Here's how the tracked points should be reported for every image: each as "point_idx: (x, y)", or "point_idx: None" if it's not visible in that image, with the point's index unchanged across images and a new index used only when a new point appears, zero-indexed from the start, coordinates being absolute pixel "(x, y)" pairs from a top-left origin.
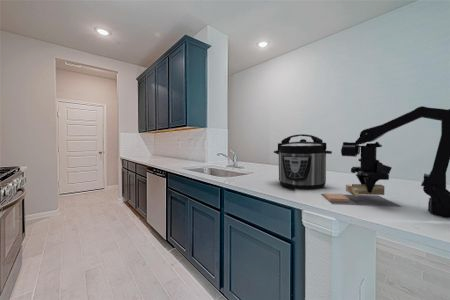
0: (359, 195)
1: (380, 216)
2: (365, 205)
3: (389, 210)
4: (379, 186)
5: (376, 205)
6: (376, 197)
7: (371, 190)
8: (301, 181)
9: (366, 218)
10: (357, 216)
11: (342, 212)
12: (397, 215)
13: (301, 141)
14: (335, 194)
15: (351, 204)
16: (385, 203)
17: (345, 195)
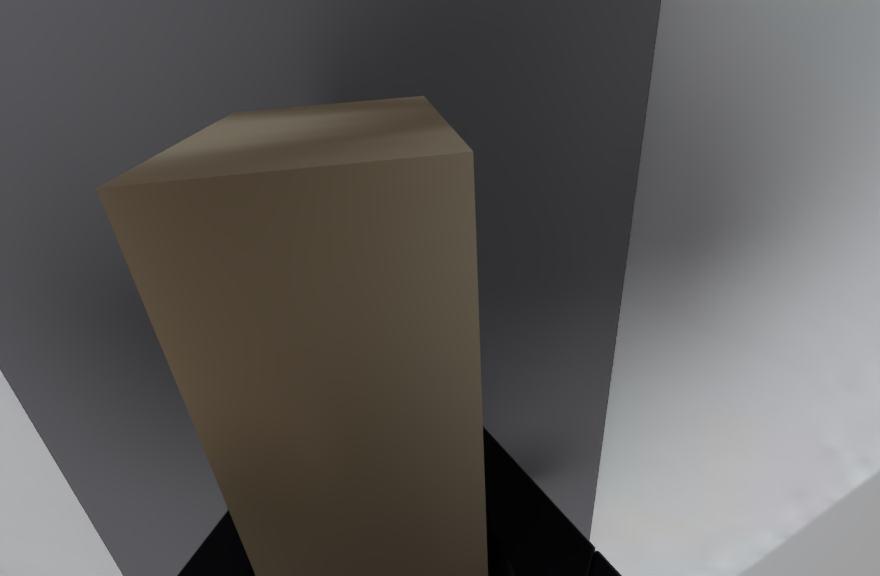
0: (37, 347)
1: (843, 345)
2: (605, 414)
3: (693, 151)
4: (473, 344)
5: (604, 292)
6: (39, 60)
7: (503, 458)
8: None
9: (851, 460)
10: (800, 504)
11: (706, 572)
12: (865, 150)
13: None
14: None
15: (577, 525)
16: (491, 96)
17: (162, 524)
